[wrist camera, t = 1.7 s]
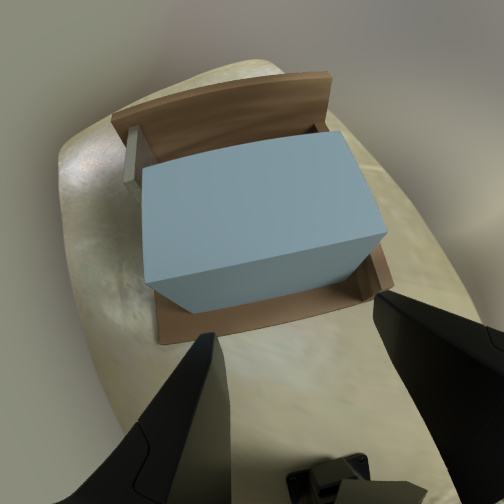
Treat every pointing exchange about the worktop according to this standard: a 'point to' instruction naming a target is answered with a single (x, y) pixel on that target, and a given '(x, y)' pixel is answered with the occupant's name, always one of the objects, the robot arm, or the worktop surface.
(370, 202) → the light blue block
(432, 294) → the worktop surface
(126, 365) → the worktop surface
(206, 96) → the shelf
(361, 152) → the worktop surface
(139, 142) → the bookend
